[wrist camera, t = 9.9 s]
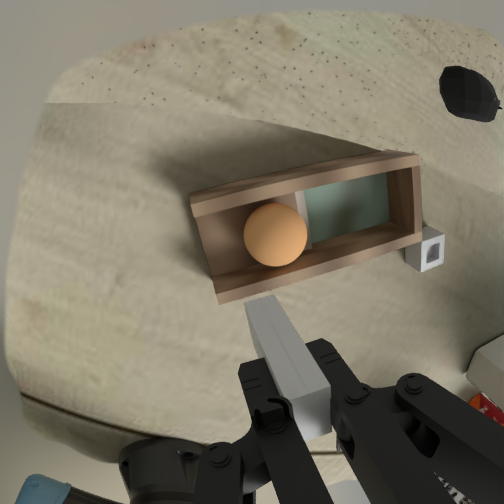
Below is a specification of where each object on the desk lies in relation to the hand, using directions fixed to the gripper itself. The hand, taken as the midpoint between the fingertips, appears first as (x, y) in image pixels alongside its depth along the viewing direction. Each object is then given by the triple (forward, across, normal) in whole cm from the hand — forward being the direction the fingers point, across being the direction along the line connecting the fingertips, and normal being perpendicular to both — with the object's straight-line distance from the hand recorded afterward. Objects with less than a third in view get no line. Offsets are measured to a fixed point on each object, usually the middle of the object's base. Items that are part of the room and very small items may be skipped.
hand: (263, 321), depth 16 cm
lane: (+14, +8, 0) cm, 16 cm away
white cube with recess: (+14, +21, -6) cm, 26 cm away
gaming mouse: (+14, +34, +10) cm, 38 cm away
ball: (+10, +4, 0) cm, 11 cm away
